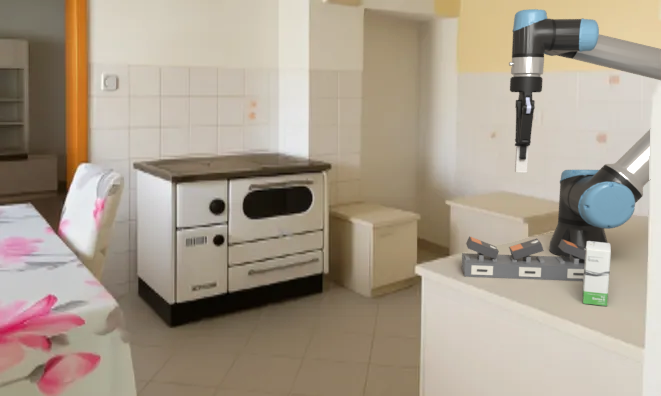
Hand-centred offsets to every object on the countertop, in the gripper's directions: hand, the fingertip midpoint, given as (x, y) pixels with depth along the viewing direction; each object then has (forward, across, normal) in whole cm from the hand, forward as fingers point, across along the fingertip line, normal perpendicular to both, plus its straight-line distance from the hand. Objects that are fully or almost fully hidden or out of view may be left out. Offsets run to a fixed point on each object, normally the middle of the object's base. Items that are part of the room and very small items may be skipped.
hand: (520, 172), depth 157 cm
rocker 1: (+19, +9, -10) cm, 23 cm away
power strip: (+24, +8, +1) cm, 25 cm away
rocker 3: (+19, +8, +12) cm, 24 cm away
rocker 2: (+19, +8, +1) cm, 20 cm away
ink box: (+24, +26, +13) cm, 38 cm away
